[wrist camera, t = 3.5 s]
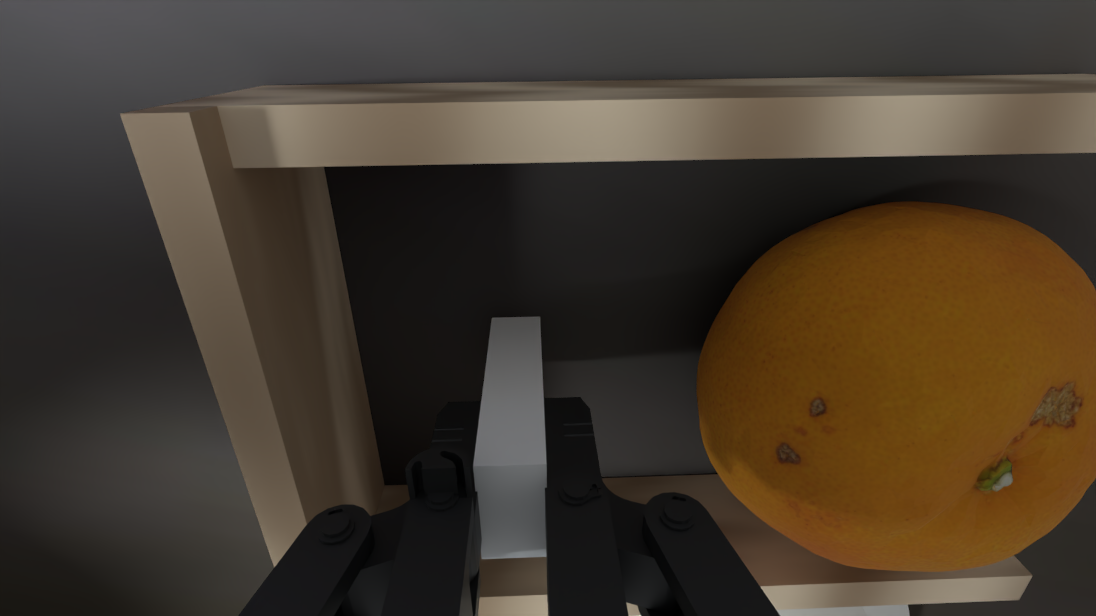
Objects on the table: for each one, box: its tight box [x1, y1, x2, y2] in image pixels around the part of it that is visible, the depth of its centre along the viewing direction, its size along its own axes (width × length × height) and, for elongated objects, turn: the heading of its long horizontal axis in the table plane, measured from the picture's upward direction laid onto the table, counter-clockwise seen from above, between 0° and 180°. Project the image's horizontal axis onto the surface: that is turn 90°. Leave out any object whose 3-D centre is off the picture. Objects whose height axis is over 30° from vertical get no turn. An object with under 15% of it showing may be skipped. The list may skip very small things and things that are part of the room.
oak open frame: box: [120, 74, 1096, 616], centre depth 16 cm, size 23×16×6 cm
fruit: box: [697, 201, 1096, 572], centre depth 16 cm, size 10×10×8 cm
